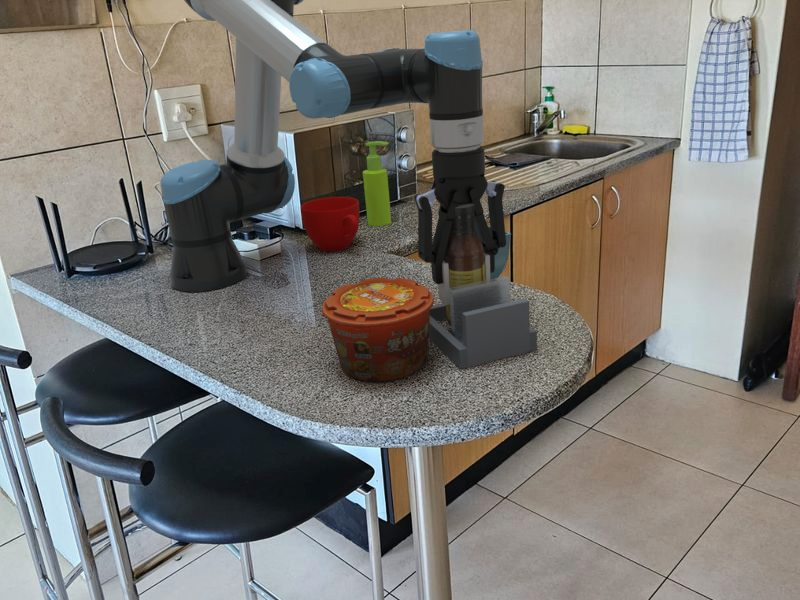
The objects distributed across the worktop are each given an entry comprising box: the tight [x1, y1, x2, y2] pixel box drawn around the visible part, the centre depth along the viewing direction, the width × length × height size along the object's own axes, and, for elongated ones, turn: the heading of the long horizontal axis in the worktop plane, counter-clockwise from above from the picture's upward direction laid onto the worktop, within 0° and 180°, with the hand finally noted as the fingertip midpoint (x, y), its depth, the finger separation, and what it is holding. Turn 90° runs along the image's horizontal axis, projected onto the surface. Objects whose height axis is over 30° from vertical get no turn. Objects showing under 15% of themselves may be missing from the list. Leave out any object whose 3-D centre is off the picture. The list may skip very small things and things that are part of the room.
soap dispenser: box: [362, 140, 392, 227], centre depth 168 cm, size 6×7×20 cm
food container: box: [321, 276, 435, 384], centre depth 100 cm, size 16×16×11 cm
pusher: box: [449, 275, 511, 344], centre depth 103 cm, size 1×9×10 cm, turn 111°
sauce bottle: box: [443, 203, 485, 328], centre depth 105 cm, size 6×6×20 cm
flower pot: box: [475, 225, 512, 279], centre depth 129 cm, size 9×9×9 cm
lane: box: [429, 298, 538, 370], centre depth 106 cm, size 18×12×8 cm
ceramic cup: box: [300, 196, 360, 252], centre depth 153 cm, size 13×17×10 cm
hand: (464, 296), depth 107 cm, fingers closed on sauce bottle, 6 cm apart
